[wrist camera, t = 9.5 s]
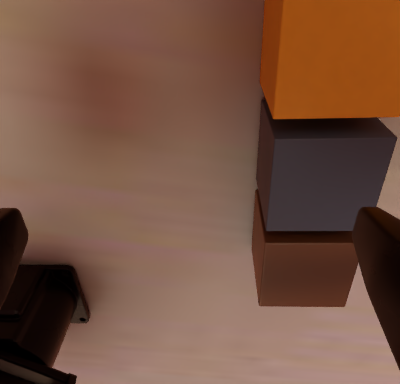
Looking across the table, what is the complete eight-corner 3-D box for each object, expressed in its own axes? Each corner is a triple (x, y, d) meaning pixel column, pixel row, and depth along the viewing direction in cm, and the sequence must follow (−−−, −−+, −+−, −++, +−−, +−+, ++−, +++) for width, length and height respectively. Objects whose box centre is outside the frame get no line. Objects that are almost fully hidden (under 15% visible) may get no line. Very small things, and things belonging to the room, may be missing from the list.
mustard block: (360, 81, 18) (404, 117, 14) (259, 83, 18) (272, 120, 14) (386, -36, 15) (451, -34, 11) (266, -31, 15) (285, -27, 11)
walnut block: (325, 248, 24) (348, 307, 20) (251, 248, 24) (258, 306, 20) (338, 188, 21) (368, 243, 17) (255, 189, 22) (264, 243, 18)
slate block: (341, 177, 21) (372, 231, 17) (256, 178, 21) (266, 231, 17) (359, 97, 18) (401, 137, 14) (261, 99, 18) (274, 139, 14)
